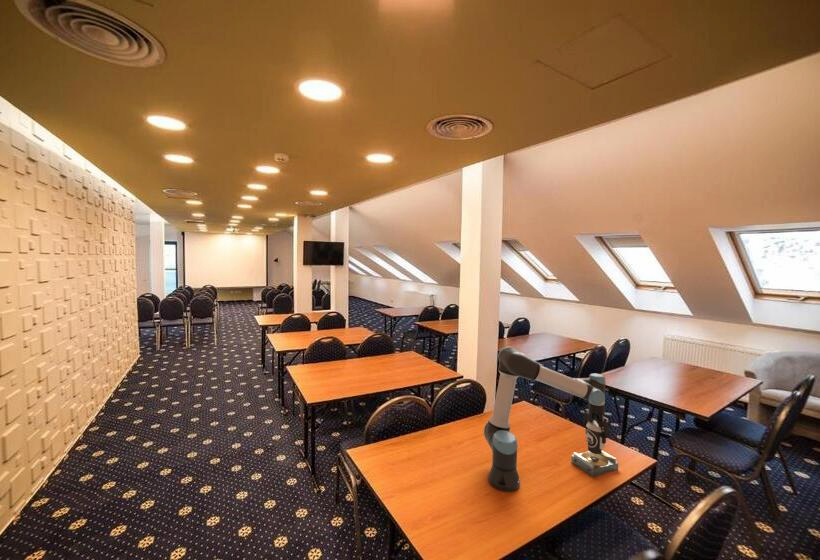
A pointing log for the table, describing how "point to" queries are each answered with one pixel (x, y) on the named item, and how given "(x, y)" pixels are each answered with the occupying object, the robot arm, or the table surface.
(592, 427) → the coffee cup
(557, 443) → the table surface
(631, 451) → the table surface
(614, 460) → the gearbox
